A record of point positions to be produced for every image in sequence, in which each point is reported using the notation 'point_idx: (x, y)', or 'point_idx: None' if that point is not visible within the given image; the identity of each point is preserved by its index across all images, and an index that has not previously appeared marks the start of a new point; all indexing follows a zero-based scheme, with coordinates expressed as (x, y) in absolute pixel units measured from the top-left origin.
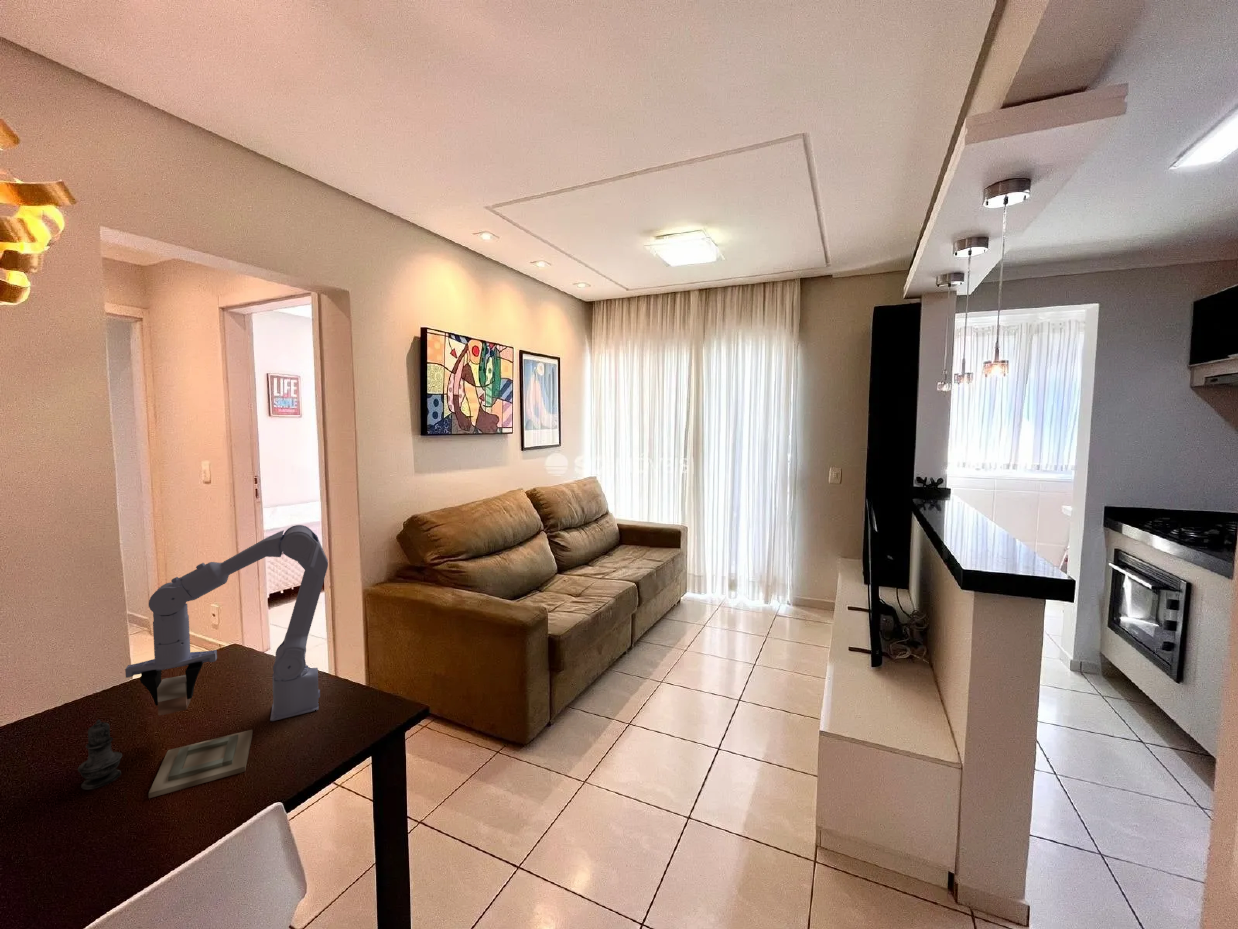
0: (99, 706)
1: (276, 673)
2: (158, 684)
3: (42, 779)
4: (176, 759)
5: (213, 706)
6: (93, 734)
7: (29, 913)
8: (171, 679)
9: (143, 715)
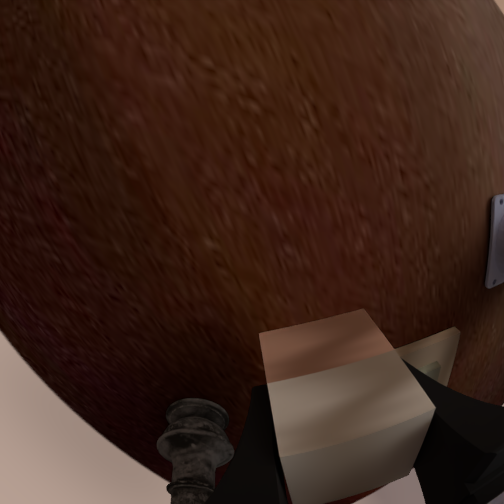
0: None
1: None
2: (283, 492)
3: (71, 377)
4: None
5: (341, 105)
6: None
7: None
8: (341, 462)
9: (103, 98)
